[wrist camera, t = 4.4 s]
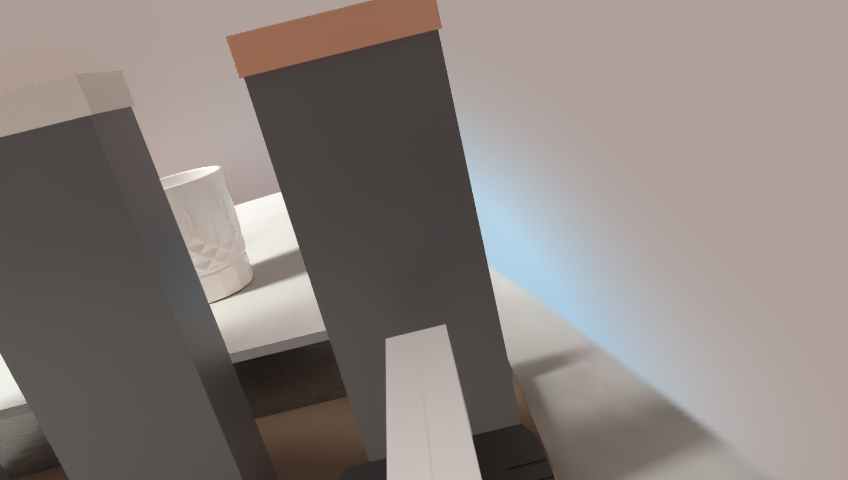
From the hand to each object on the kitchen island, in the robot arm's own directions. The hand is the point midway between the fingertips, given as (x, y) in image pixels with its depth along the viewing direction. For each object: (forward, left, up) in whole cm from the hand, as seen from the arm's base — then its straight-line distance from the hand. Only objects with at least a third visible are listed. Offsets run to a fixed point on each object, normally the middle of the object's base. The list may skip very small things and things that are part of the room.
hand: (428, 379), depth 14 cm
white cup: (-34, +18, -8) cm, 40 cm away
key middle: (-10, -2, -6) cm, 12 cm away
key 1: (-2, +3, -6) cm, 7 cm away
